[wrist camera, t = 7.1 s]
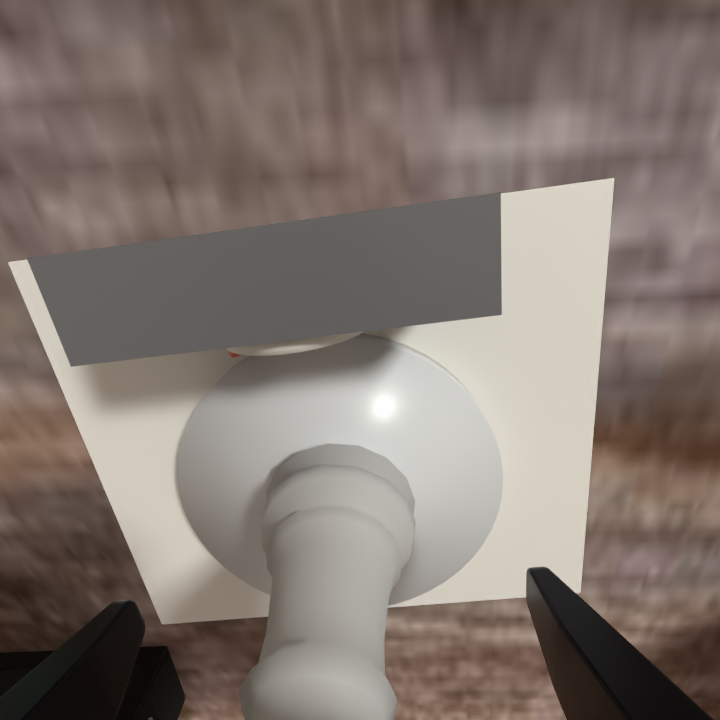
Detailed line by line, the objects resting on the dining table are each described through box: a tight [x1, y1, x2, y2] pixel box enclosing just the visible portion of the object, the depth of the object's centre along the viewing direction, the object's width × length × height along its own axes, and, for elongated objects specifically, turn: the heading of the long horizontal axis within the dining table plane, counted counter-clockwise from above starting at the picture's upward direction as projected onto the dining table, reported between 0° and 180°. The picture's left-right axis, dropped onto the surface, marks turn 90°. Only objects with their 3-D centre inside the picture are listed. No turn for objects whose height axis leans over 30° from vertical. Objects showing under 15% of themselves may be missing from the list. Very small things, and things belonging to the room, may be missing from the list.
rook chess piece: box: [240, 443, 416, 720], centre depth 8 cm, size 4×4×8 cm
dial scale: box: [8, 178, 614, 624], centre depth 12 cm, size 16×14×7 cm
